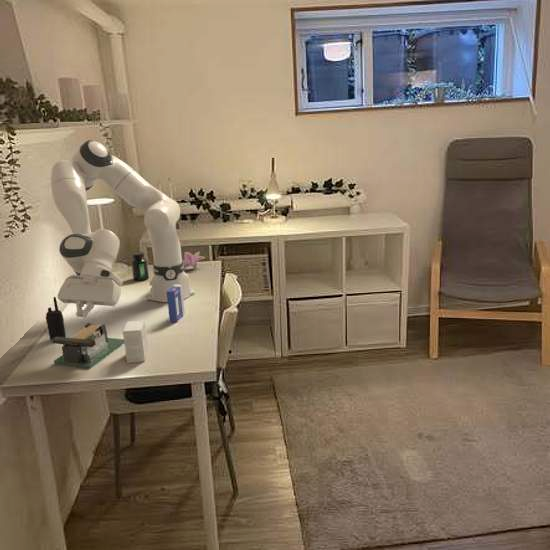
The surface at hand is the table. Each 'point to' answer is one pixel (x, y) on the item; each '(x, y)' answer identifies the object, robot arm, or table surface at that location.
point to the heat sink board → (89, 350)
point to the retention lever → (79, 338)
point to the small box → (135, 341)
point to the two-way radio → (55, 322)
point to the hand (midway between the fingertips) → (81, 316)
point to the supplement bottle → (139, 267)
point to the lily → (191, 259)
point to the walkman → (175, 303)
